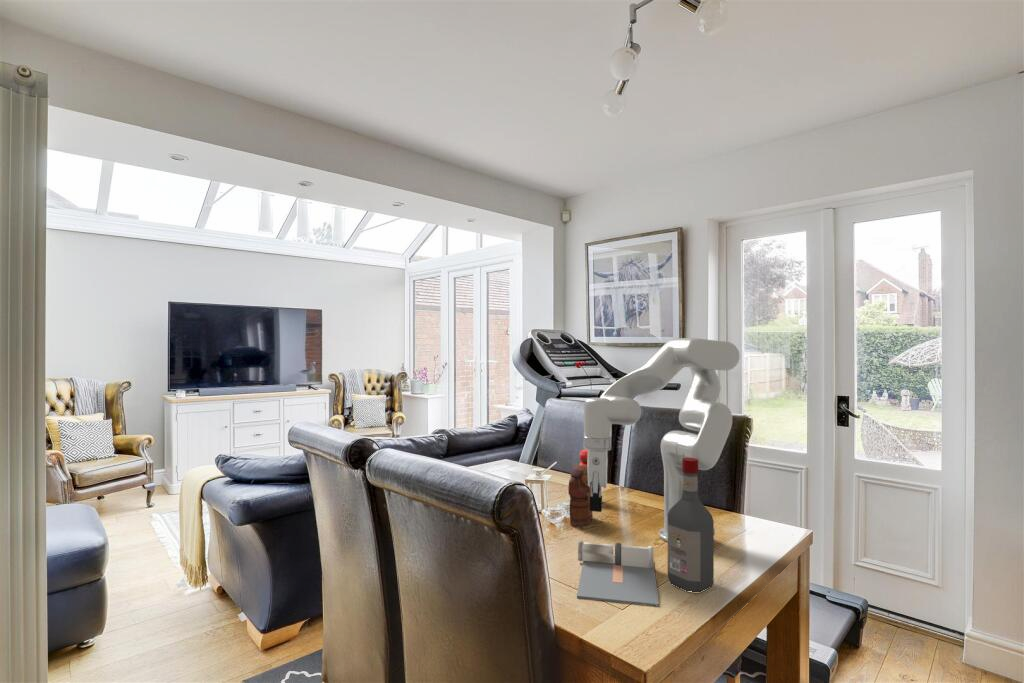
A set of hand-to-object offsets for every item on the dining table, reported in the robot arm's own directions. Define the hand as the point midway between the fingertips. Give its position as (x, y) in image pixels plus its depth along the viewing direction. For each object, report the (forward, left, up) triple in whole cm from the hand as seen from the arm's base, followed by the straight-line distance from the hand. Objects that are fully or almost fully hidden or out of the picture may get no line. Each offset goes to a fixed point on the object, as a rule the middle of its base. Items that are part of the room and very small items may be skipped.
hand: (595, 510), depth 141 cm
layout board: (-6, +13, -12) cm, 19 cm away
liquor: (-23, +12, -13) cm, 29 cm away
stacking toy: (+6, -49, -13) cm, 51 cm away
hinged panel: (0, +6, -12) cm, 13 cm away
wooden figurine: (+6, -26, -13) cm, 30 cm away
